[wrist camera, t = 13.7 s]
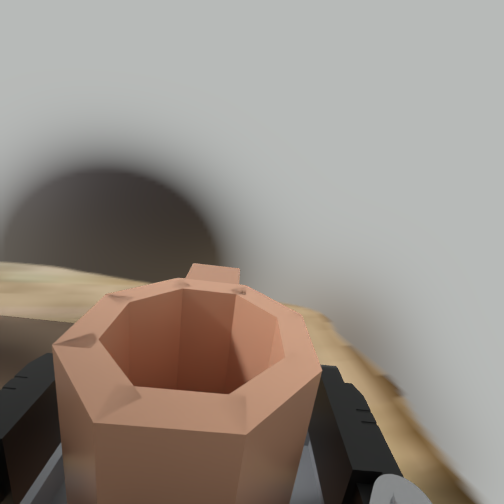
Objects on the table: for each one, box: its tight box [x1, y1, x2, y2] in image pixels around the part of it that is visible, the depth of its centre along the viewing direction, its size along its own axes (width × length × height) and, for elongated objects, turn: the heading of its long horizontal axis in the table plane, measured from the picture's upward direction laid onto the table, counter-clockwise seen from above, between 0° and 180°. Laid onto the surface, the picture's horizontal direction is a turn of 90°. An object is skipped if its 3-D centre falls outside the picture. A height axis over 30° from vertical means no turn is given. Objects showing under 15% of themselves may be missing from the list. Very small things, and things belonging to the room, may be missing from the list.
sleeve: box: [52, 263, 322, 504], centre depth 9 cm, size 7×6×11 cm
